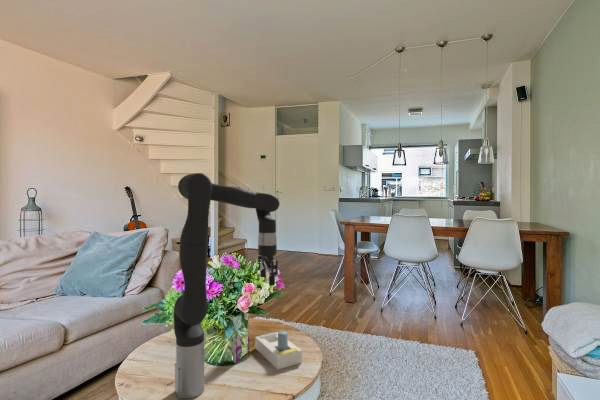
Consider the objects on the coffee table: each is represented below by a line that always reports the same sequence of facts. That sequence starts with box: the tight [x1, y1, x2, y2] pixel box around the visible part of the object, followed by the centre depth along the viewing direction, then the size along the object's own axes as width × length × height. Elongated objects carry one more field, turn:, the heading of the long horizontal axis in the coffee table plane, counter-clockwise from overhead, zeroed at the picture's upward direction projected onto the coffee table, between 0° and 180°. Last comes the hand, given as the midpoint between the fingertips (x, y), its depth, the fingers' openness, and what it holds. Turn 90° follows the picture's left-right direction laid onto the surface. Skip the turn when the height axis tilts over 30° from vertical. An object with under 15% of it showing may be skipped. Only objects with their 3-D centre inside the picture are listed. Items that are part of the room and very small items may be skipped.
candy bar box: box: [232, 314, 250, 364], centre depth 142 cm, size 11×5×16 cm, turn 161°
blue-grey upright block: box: [277, 330, 289, 352], centre depth 139 cm, size 4×4×10 cm
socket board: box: [254, 331, 303, 371], centre depth 143 cm, size 11×22×5 cm, turn 30°
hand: (267, 283), depth 138 cm, fingers open, 8 cm apart
